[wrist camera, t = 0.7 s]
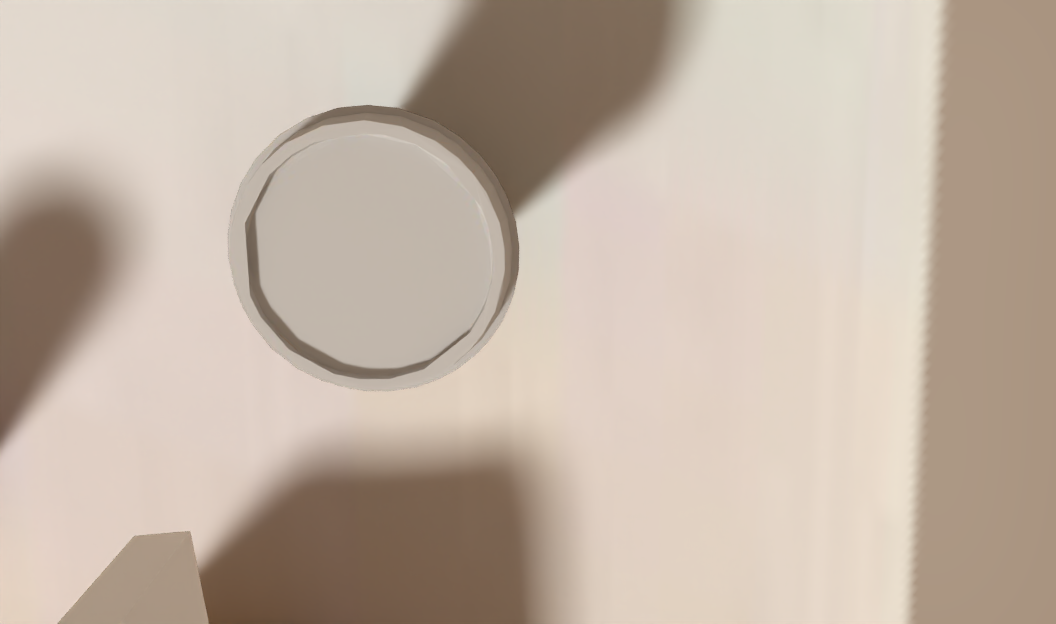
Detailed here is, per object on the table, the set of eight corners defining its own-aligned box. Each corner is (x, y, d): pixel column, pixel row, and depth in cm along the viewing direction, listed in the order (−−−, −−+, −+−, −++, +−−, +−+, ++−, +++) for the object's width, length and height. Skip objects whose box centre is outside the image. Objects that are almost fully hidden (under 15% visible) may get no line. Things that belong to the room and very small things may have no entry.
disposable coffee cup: (368, 73, 33) (300, 40, 21) (549, 183, 35) (577, 208, 23) (273, 254, 35) (162, 314, 23) (449, 350, 36) (428, 453, 25)
